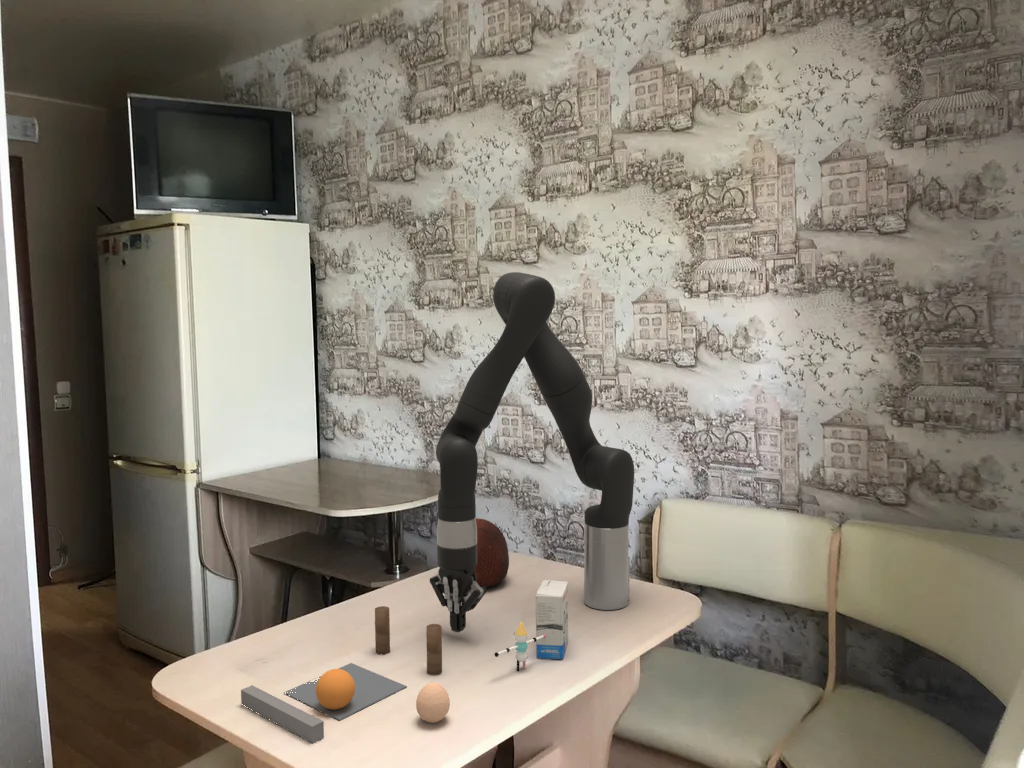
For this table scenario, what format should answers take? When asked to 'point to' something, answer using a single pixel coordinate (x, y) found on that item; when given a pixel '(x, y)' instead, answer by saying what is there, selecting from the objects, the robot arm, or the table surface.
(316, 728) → the wall
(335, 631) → the table surface
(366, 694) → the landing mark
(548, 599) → the ink box
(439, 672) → the post
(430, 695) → the egg
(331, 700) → the ball
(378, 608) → the post
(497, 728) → the table surface
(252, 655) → the table surface
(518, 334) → the robot arm
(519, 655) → the toy figure
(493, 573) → the figurine
